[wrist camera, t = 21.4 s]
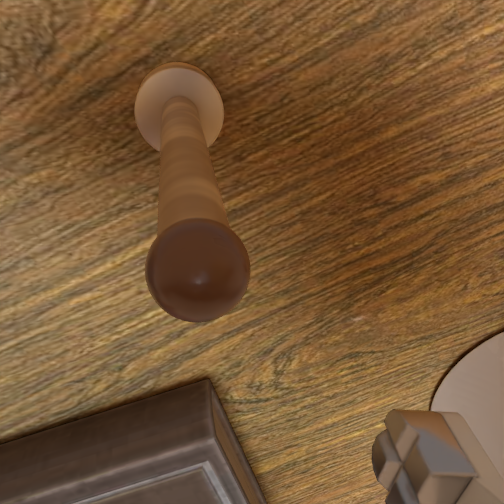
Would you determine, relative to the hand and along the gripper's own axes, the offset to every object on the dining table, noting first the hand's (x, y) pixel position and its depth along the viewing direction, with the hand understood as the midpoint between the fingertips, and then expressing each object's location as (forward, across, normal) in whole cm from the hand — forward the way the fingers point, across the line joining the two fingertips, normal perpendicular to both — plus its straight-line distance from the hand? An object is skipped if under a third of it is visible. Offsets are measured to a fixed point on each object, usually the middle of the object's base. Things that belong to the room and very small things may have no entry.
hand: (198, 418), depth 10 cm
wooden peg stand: (+17, +1, -2) cm, 17 cm away
